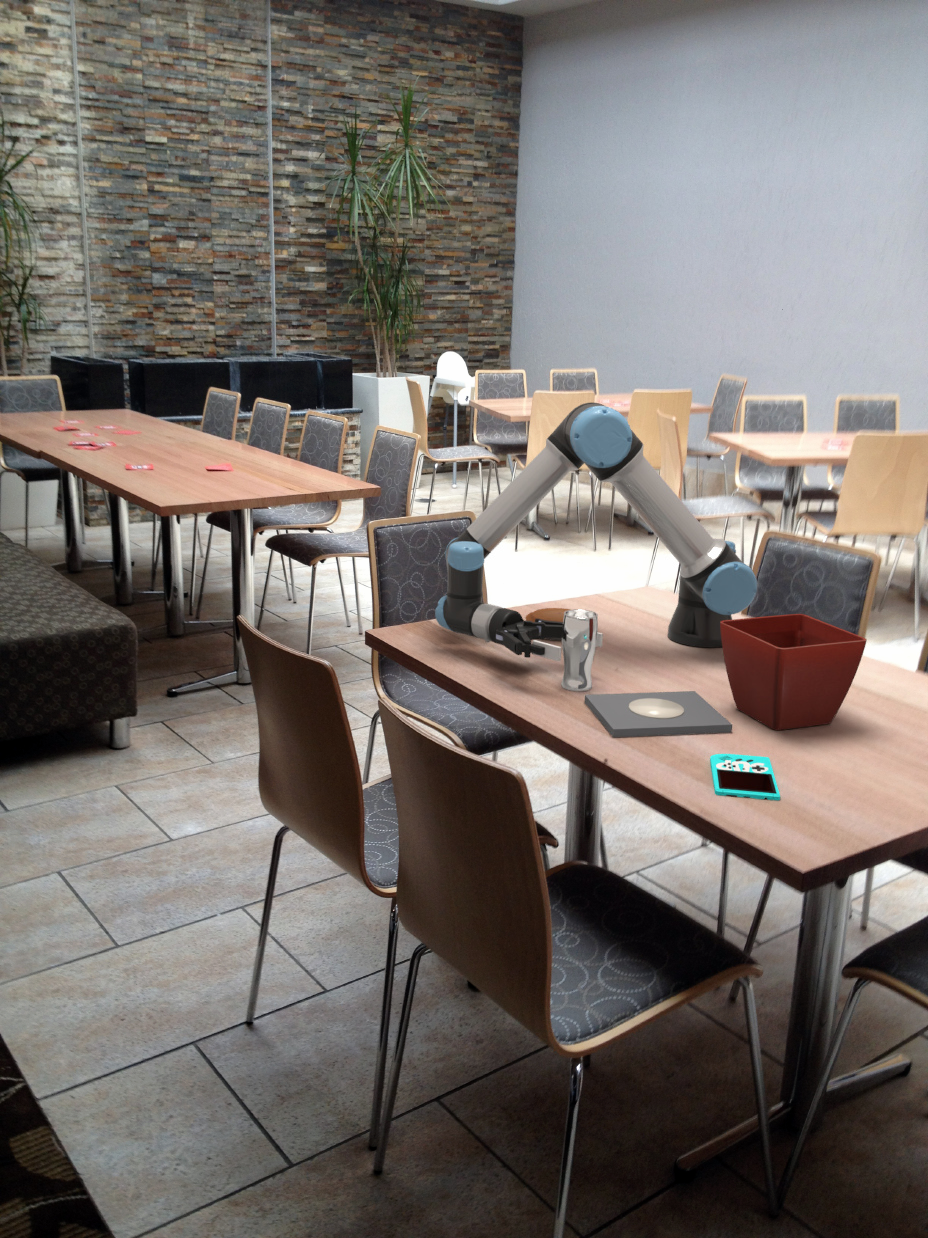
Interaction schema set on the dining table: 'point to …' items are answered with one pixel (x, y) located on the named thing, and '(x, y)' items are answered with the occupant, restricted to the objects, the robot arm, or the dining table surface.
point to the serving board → (656, 714)
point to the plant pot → (789, 668)
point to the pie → (547, 616)
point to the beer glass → (578, 648)
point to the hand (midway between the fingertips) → (581, 647)
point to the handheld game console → (744, 776)
